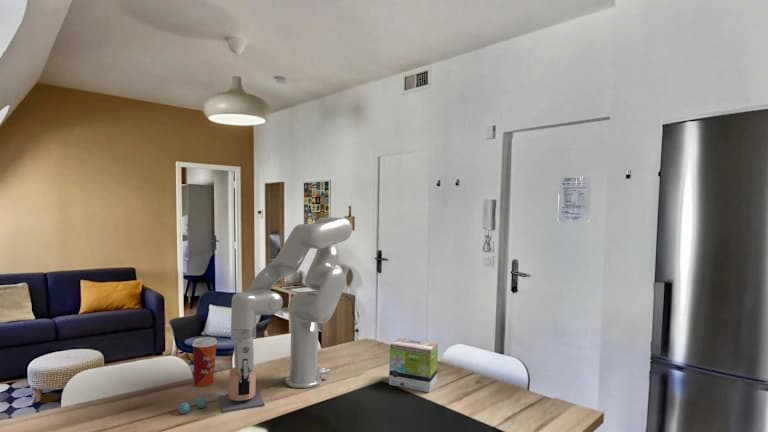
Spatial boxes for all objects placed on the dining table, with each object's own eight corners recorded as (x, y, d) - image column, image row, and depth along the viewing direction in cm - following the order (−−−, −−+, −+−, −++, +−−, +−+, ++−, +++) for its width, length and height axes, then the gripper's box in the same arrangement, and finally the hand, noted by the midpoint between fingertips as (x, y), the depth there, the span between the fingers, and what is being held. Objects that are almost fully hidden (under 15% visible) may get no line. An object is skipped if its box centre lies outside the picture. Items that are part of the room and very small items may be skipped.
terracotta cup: (252, 389, 137) (253, 364, 137) (256, 398, 130) (257, 372, 131) (227, 392, 134) (228, 367, 134) (230, 402, 127) (231, 375, 127)
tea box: (388, 386, 148) (389, 343, 148) (398, 376, 157) (399, 336, 157) (430, 393, 142) (430, 349, 142) (437, 383, 151) (438, 341, 152)
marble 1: (189, 398, 125) (193, 407, 124) (183, 404, 126) (188, 413, 125) (180, 402, 122) (185, 411, 121) (175, 408, 123) (179, 417, 122)
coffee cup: (207, 388, 142) (208, 343, 142) (185, 386, 144) (186, 341, 144) (221, 379, 150) (222, 337, 150) (200, 377, 152) (202, 335, 152)
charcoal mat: (258, 391, 140) (258, 389, 140) (264, 406, 129) (264, 404, 129) (219, 397, 135) (219, 395, 135) (222, 412, 124) (222, 410, 124)
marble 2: (203, 395, 130) (208, 404, 129) (193, 401, 128) (198, 410, 127) (204, 394, 128) (209, 403, 127) (195, 400, 126) (200, 409, 125)
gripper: (260, 338, 126) (258, 398, 126) (251, 325, 142) (250, 378, 142) (233, 341, 123) (232, 402, 123) (228, 327, 139) (226, 381, 139)
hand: (242, 389), depth 132 cm, fingers closed on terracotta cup, 7 cm apart
